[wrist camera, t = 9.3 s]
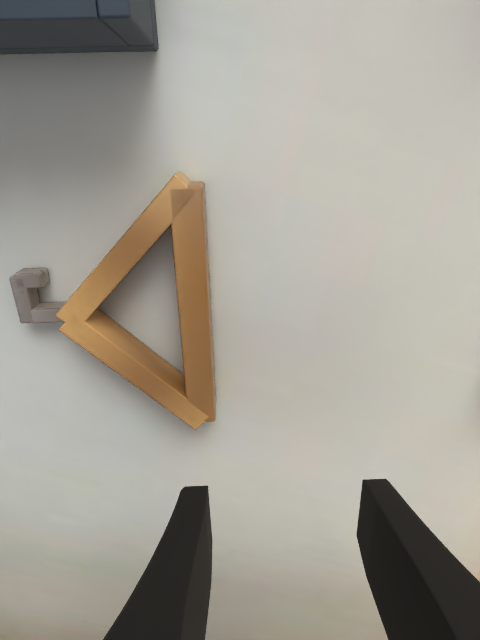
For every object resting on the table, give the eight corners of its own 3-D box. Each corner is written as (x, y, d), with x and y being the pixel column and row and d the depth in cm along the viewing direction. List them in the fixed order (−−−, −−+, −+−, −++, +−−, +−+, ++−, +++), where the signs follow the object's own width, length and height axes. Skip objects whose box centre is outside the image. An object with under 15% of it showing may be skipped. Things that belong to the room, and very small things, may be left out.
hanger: (53, 413, 20) (39, 434, 19) (-5, 176, 16) (-28, 180, 14) (216, 407, 20) (215, 428, 19) (203, 170, 16) (201, 174, 14)
